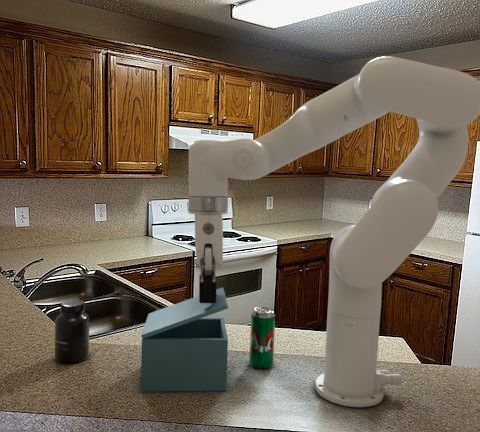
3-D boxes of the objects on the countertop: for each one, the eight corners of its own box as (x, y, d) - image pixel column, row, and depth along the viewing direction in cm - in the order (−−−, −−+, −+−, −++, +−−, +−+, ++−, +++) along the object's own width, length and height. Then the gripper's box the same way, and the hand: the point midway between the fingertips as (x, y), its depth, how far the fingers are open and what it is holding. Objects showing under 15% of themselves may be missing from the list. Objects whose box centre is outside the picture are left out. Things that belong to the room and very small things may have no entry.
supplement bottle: (52, 365, 92) (52, 308, 91) (57, 352, 98) (57, 298, 97) (87, 363, 93) (88, 306, 92) (90, 350, 100) (90, 297, 99)
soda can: (271, 360, 99) (274, 306, 97) (274, 370, 93) (276, 313, 92) (248, 359, 98) (250, 306, 97) (249, 369, 93) (252, 313, 92)
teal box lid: (224, 290, 95) (215, 265, 94) (228, 308, 82) (218, 280, 82) (149, 317, 94) (140, 292, 93) (142, 339, 81) (131, 310, 81)
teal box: (222, 362, 96) (223, 317, 95) (226, 390, 84) (227, 339, 83) (148, 362, 95) (149, 317, 94) (140, 391, 82) (141, 339, 81)
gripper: (230, 209, 79) (229, 311, 80) (225, 203, 95) (224, 287, 97) (187, 208, 78) (186, 311, 79) (189, 202, 95) (189, 287, 96)
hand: (207, 297), depth 88 cm, fingers closed on teal box lid, 5 cm apart
